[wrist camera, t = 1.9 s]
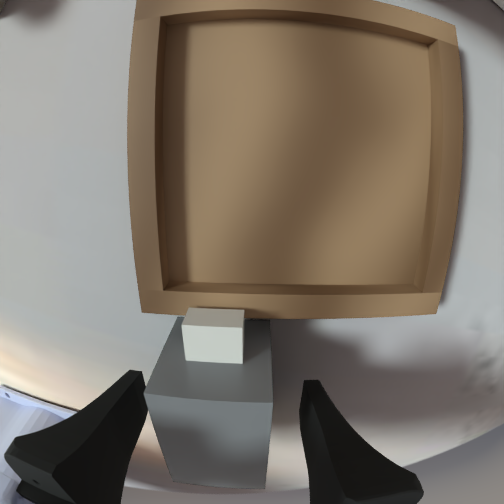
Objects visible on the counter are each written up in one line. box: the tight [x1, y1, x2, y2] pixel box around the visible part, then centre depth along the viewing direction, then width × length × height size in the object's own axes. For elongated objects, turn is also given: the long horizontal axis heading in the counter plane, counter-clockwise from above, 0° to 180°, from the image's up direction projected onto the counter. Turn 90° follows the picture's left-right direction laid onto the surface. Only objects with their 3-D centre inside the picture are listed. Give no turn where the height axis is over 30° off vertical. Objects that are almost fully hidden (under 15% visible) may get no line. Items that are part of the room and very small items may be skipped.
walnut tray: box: [127, 0, 463, 319], centre depth 10 cm, size 12×12×2 cm
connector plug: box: [144, 308, 273, 489], centre depth 12 cm, size 4×8×5 cm, turn 179°
